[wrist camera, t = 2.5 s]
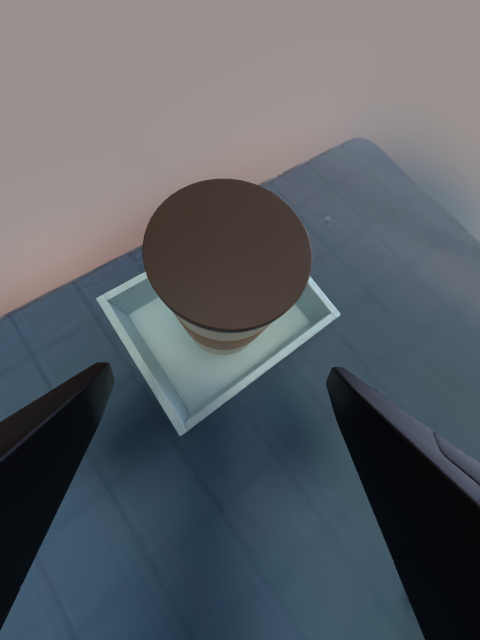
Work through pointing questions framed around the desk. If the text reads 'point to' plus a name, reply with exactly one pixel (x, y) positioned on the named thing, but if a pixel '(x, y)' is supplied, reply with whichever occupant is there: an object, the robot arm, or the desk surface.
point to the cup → (226, 260)
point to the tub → (192, 361)
